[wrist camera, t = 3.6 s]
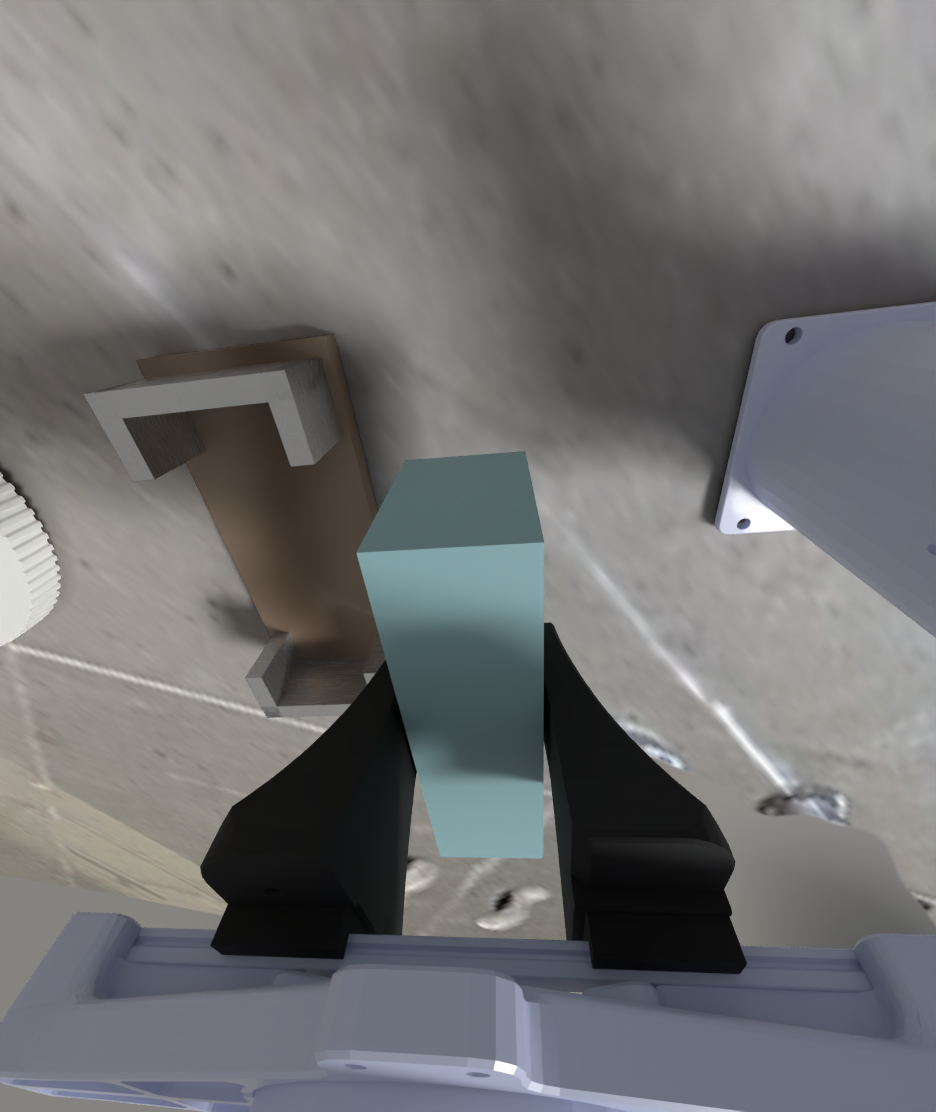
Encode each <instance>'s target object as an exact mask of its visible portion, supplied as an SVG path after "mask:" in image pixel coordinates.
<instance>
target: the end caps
mask: <svg viewBox="0 0 936 1112" xmlns="http://www.w3.org/2000/svg"><path fill="white" fill-rule="evenodd" d="M84 396H85V398H86V400H87V401H88V403H89V405H90V407H91V409H92V410H93V412H94V414H95V416H96V417H97V419H98V421H99V423H100V424H101V426H102V428H103V430H104V431H105V433H106V435H107V437H108V438H109V440H110V442H111V444H112V445H113V447H114V449H115V451H116V453H117V454H118V456H119V458H120V460H121V461H122V463H123V465H124V467H125V468H126V470H127V472H128V474H129V475H130V477H131V479H132V481H142V480H153V479H156V478H158V477H160V476H162V475H164V474H165V473H167V472H169V471H171V470H173V469H175V468H176V467H178V466H180V465H182V464H184V463H186V462H187V461H189V460H191V459H193V458H195V457H196V456H198V455H200V454H202V453H204V452H206V451H207V450H206V448H205V446H204V443H203V441H202V439H201V437H200V435H199V432H198V430H197V428H196V426H195V423H194V421H193V419H192V417H191V415H190V412H189V411H194V410H203V409H212V408H221V407H230V406H239V405H248V404H257V403H266V402H268V403H269V405H270V408H271V411H272V414H273V417H274V420H275V423H276V425H277V428H278V431H279V434H280V437H281V440H282V443H283V446H284V448H285V451H286V454H287V457H288V460H289V463H290V466H302V465H312V464H315V463H316V462H317V461H318V460H320V459H321V458H322V457H323V456H324V455H325V454H326V453H327V452H328V451H329V450H330V449H331V448H332V447H333V446H334V445H335V444H336V443H337V442H338V441H340V440H341V439H342V438H343V435H342V432H341V428H340V424H339V420H338V417H337V413H336V409H335V406H334V402H333V398H332V395H331V391H330V387H329V383H328V380H327V376H326V372H325V369H324V365H323V361H322V358H321V357H316V358H308V359H299V360H291V361H283V362H275V363H266V364H258V365H250V366H242V367H234V368H225V369H217V370H209V371H201V372H193V373H184V374H176V375H168V376H160V377H152V378H148V379H144V380H140V381H135V382H131V383H127V384H123V385H119V386H115V387H111V388H107V389H103V390H98V391H94V392H90V393H86V394H84ZM385 659H386V658H385V655H384V651H383V647H382V644H381V640H380V636H379V633H378V632H377V635H376V638H375V641H374V644H373V647H372V649H371V652H370V655H369V657H360V658H337V659H314V660H301V659H300V656H299V654H298V652H297V650H296V648H295V645H294V643H293V641H292V639H291V636H290V634H289V632H288V633H274V634H273V636H272V637H271V639H270V640H269V642H268V643H267V645H266V646H265V648H264V650H263V651H262V653H261V654H260V656H259V657H258V659H257V660H256V662H255V663H254V665H253V667H252V668H251V670H250V671H249V673H248V674H247V676H246V677H245V679H246V681H247V683H248V685H249V687H250V688H251V690H252V692H253V694H254V695H255V697H256V699H257V701H258V702H259V704H260V706H261V708H262V709H263V711H264V713H265V715H266V716H267V718H270V717H304V716H338V715H342V714H343V713H344V712H345V710H346V709H347V708H348V707H349V706H350V705H351V704H352V702H353V701H354V700H355V699H356V698H357V696H358V695H359V694H360V693H361V691H362V690H363V689H364V688H365V686H366V685H367V684H368V683H369V681H370V680H371V679H372V677H373V676H374V675H375V673H376V672H377V670H378V669H379V668H380V666H381V665H382V663H383V662H384V661H385Z"/></svg>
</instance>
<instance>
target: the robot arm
mask: <svg viewBox="0 0 936 1112" xmlns="http://www.w3.org/2000/svg"><path fill="white" fill-rule="evenodd" d="M792 328H794V329H795V335H794V337H793V339H792V340H791V341H790V342H788V343H786V342H785V336H786V334H787V332H788V331H789V330H791V329H792ZM744 518H746V519H745V521H744V522H743V523H742V524H740V525H737V523H738V522H739V521H740V520H741V519H744ZM715 527H716V529H717V530H718V531H719V532H720V533H722V534H726V535H730V534H745V533H759V532H774V531H788V530H797V531H799V532H800V533H801V534H803V535H804V536H805V537H806V538H808V539H809V540H810V541H812V542H813V543H814V544H815V545H817V546H818V547H819V548H821V549H822V550H823V551H824V552H826V553H827V554H828V555H830V556H831V557H832V558H833V559H835V560H836V561H837V562H839V563H840V564H841V565H842V566H844V567H845V568H846V569H848V570H849V571H850V572H851V573H853V574H854V575H855V576H857V577H858V578H859V579H860V580H862V581H863V582H864V583H866V584H867V585H868V586H870V587H871V588H872V589H873V590H875V591H876V592H877V593H879V594H880V595H881V596H882V597H884V598H885V599H886V600H888V601H889V602H890V603H891V604H893V605H894V606H895V607H897V608H898V609H899V610H900V611H902V612H903V613H904V614H906V615H907V616H908V617H909V618H911V619H912V620H913V621H915V622H916V623H917V624H918V625H920V626H921V627H922V628H924V629H925V630H926V631H927V632H929V633H930V634H931V635H933V636H934V637H935V638H936V301H934V302H926V303H917V304H909V305H900V306H892V307H883V308H875V309H866V310H858V311H849V312H840V313H832V314H823V315H815V316H806V317H798V318H789V319H781V320H774V321H771V322H769V323H767V324H766V325H765V326H763V327H762V329H761V330H760V331H759V332H758V335H757V337H756V341H755V345H754V350H753V354H752V359H751V363H750V367H749V372H748V376H747V381H746V385H745V390H744V394H743V399H742V403H741V407H740V412H739V416H738V421H737V425H736V430H735V434H734V439H733V443H732V448H731V452H730V456H729V461H728V465H727V470H726V474H725V479H724V483H723V488H722V492H721V496H720V501H719V505H718V510H717V514H716V519H715ZM544 745H545V750H546V755H547V760H548V765H549V772H550V778H551V787H552V796H553V806H554V816H555V826H556V835H557V845H558V855H559V866H560V876H561V886H562V896H563V907H564V917H565V928H566V939H567V941H566V940H533V939H500V938H467V937H435V936H402V925H403V910H404V895H405V881H406V869H407V857H408V845H409V835H410V824H411V814H412V805H413V796H414V787H415V779H416V773H417V770H416V767H415V763H414V759H413V756H412V752H411V748H410V745H409V741H408V738H407V734H406V730H405V727H404V723H403V720H402V716H401V712H400V709H399V705H398V702H397V698H396V694H395V691H394V687H393V683H392V680H391V676H390V673H389V669H388V665H387V662H386V659H385V661H384V662H383V663H382V665H381V666H380V668H379V669H378V670H377V672H376V673H375V675H374V676H373V677H372V679H371V680H370V681H369V683H368V684H367V685H366V686H365V688H364V689H363V690H362V691H361V693H360V694H359V695H358V696H357V698H356V699H355V700H354V701H353V702H352V704H351V705H350V706H349V707H348V708H347V709H346V710H345V712H344V713H343V714H342V715H341V716H340V717H339V718H338V719H337V720H336V721H335V722H334V723H333V725H332V726H331V727H330V728H329V729H328V730H327V731H325V732H324V733H323V734H322V735H321V736H320V737H319V738H318V739H317V740H316V741H315V742H314V743H313V744H312V745H311V746H310V747H309V748H308V749H307V750H305V751H304V752H303V753H302V754H301V755H300V756H299V757H297V758H296V759H295V760H294V761H293V762H291V763H290V764H289V765H288V766H287V767H285V768H284V769H283V770H282V771H280V772H279V773H278V774H277V775H275V776H274V777H273V778H271V779H270V780H269V781H268V782H266V783H265V784H263V785H262V786H261V787H259V788H258V789H256V790H255V791H254V792H252V793H251V794H250V795H248V796H247V797H245V798H244V799H243V800H241V801H240V802H238V803H237V804H235V805H234V806H232V808H231V809H230V811H229V813H228V815H227V816H226V818H225V820H224V821H223V823H222V825H221V827H220V829H219V831H218V833H217V835H216V837H215V839H214V841H213V843H212V845H211V847H210V849H209V851H208V852H207V854H206V856H205V858H204V860H203V862H202V864H201V866H200V868H201V874H202V877H203V878H204V880H205V881H206V883H207V884H208V885H209V886H210V887H211V888H212V889H213V890H214V891H215V892H216V893H217V894H219V895H220V896H221V897H222V898H223V899H224V900H225V901H226V902H227V903H228V905H227V908H226V910H225V912H224V915H223V917H222V919H221V922H220V924H219V926H218V928H217V930H205V929H172V928H141V926H140V924H139V923H138V922H137V921H135V920H134V919H132V918H130V917H128V916H126V915H122V914H116V913H91V912H90V913H89V912H78V913H76V914H74V915H73V916H72V917H71V919H70V920H69V922H68V923H67V924H66V926H65V927H64V929H63V930H62V932H61V933H60V935H59V936H58V938H57V939H56V941H55V942H54V944H53V945H52V947H51V948H50V950H49V951H48V952H47V954H46V956H45V957H44V958H43V960H42V961H41V963H40V964H39V966H38V967H37V969H36V970H35V972H34V973H33V975H32V976H31V978H30V979H29V980H28V982H27V983H26V985H25V987H24V988H23V989H22V991H21V992H20V994H19V995H18V997H17V998H16V1000H15V1001H14V1003H13V1004H12V1006H11V1007H10V1008H9V1010H8V1011H7V1013H6V1014H5V1016H4V1017H3V1019H2V1020H1V1022H0V1083H2V1084H6V1085H9V1086H13V1087H18V1088H21V1089H25V1090H30V1091H33V1092H37V1093H41V1094H45V1095H49V1096H59V1097H71V1098H83V1099H93V1100H103V1101H114V1102H124V1103H134V1104H142V1105H151V1106H160V1107H168V1108H177V1109H186V1110H195V1111H203V1112H936V935H912V934H874V935H870V936H866V937H864V938H862V939H860V940H859V941H858V942H857V944H856V945H855V947H854V949H827V948H795V947H762V946H740V943H739V941H738V938H737V935H736V933H735V930H734V927H733V925H732V922H731V920H730V917H729V916H731V915H732V910H731V907H730V904H729V901H728V899H727V896H726V894H725V891H724V888H725V886H726V884H727V882H728V880H729V878H730V876H731V874H732V872H733V870H734V867H735V860H734V858H733V855H732V852H731V850H730V847H729V845H728V843H727V841H726V839H725V837H724V835H723V834H722V832H721V830H720V828H719V826H718V824H717V823H716V821H715V819H714V818H713V816H712V814H711V813H710V811H709V810H708V808H707V807H706V805H705V804H703V803H702V802H701V801H700V800H698V799H697V798H696V797H695V796H693V795H692V794H691V793H690V792H689V791H687V790H686V789H685V788H684V787H683V786H681V785H680V784H679V783H678V782H677V781H676V780H674V779H673V778H672V777H671V776H670V775H669V774H668V773H667V772H665V771H664V770H663V769H662V768H661V767H660V766H659V765H658V764H656V762H654V761H653V760H652V759H651V758H650V757H649V756H648V755H647V754H646V753H645V752H644V751H643V750H642V749H641V748H640V747H639V746H638V745H637V744H636V743H635V742H634V741H633V740H632V739H631V738H630V737H629V736H628V734H627V733H626V732H625V731H624V730H623V729H622V728H621V727H620V726H619V724H618V723H617V722H616V721H615V720H614V719H613V718H612V716H611V715H610V714H609V713H608V712H607V710H606V709H605V708H604V707H603V705H602V704H601V703H600V702H599V700H598V699H597V698H596V696H595V695H594V694H593V692H592V691H591V690H590V688H589V687H588V685H587V684H586V683H585V681H584V680H583V678H582V677H581V675H580V674H579V672H578V670H577V669H576V667H575V666H574V664H573V662H572V661H571V659H570V657H569V656H568V654H567V652H566V650H565V649H564V647H563V645H562V643H561V641H560V639H559V637H558V634H557V632H556V630H555V627H554V625H553V624H552V623H544ZM569 992H583V993H582V994H575V993H569Z"/></svg>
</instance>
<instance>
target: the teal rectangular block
mask: <svg viewBox="0 0 936 1112" xmlns="http://www.w3.org/2000/svg"><path fill="white" fill-rule="evenodd" d="M357 557H358V561H359V564H360V568H361V571H362V575H363V579H364V582H365V586H366V589H367V593H368V597H369V600H370V604H371V608H372V611H373V615H374V618H375V622H376V626H377V629H378V633H379V636H380V640H381V644H382V647H383V651H384V655H385V658H386V662H387V665H388V669H389V673H390V676H391V680H392V683H393V687H394V691H395V694H396V698H397V702H398V705H399V709H400V712H401V716H402V720H403V723H404V727H405V730H406V734H407V738H408V741H409V745H410V748H411V752H412V756H413V759H414V763H415V767H416V770H417V774H418V777H419V781H420V785H421V788H422V792H423V795H424V799H425V803H426V806H427V810H428V814H429V817H430V821H431V824H432V828H433V832H434V835H435V839H436V842H437V846H438V850H439V853H440V857H479V858H543V748H544V539H543V535H542V530H541V525H540V520H539V515H538V511H537V506H536V501H535V496H534V492H533V487H532V482H531V477H530V472H529V468H528V463H527V458H526V453H525V451H523V452H510V453H497V454H484V455H470V456H457V457H444V458H431V459H418V460H405V461H404V463H403V465H402V467H401V469H400V471H399V472H398V474H397V476H396V478H395V480H394V482H393V484H392V486H391V488H390V490H389V492H388V493H387V495H386V497H385V499H384V501H383V503H382V505H381V507H380V509H379V511H378V513H377V514H376V516H375V518H374V520H373V522H372V524H371V526H370V528H369V530H368V532H367V533H366V535H365V537H364V539H363V541H362V543H361V545H360V547H359V549H358V551H357Z"/></svg>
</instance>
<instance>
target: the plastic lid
mask: <svg viewBox="0 0 936 1112" xmlns="http://www.w3.org/2000/svg"><path fill="white" fill-rule="evenodd" d="M2 477H3V474H2V473H1V472H0V646H3V645H4V644H6V643H9V642H11V641H12V640H14V639H16V638H17V637H18V636H20V635H21V634H23V633H24V632H25V631H27V630H28V629H29V628H31V627H32V626H34V625H35V624H36V623H38V622H39V621H41V620H42V619H43V618H44V617H45V616H46V615H48V614H49V613H50V612H49V611H50V610H52V609H53V608H54V606H53V605H54V604H55V603H56V602H57V599H56V597H57V596H59V592H58V591H57V590H58V589H59V588H60V587H61V584H59V583H58V582H57V581H58V580H60V579H61V576H60V575H59V574H57V571H59V570H60V568H59V566H58V565H56V564H55V561H56V560H58V559H57V556H56V555H54V554H53V553H52V550H54V548H53V545H52V544H49V543H48V541H47V539H48V538H49V537H48V535H47V533H45V532H43V531H42V529H41V527H43V526H42V524H41V522H40V521H37V520H36V519H35V518H34V516H33V515H35V513H34V512H33V510H32V509H30V508H27V506H26V505H25V504H24V503H25V502H26V501H25V499H24V498H23V497H22V496H19V495H17V494H16V492H15V491H14V490H15V487H14V486H13V485H12V484H11V483H7V482H6V481H5V480H4V479H3V478H2Z"/></svg>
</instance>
